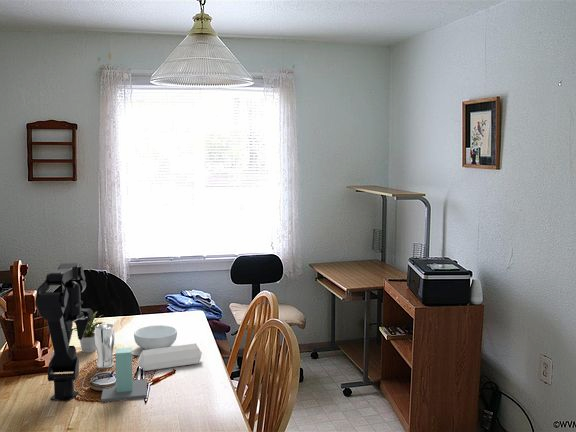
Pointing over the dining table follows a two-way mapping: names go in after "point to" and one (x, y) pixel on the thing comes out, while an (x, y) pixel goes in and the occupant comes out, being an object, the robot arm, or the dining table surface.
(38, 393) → the dining table surface
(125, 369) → the teal block
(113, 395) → the rubber mat
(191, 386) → the dining table surface
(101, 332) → the beer glass
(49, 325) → the robot arm
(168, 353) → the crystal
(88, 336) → the house plant
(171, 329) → the cereal bowl
